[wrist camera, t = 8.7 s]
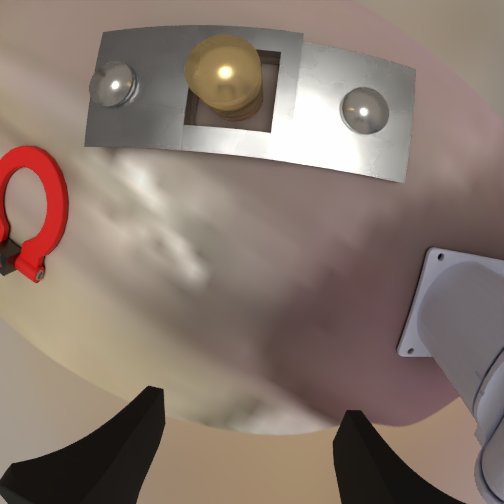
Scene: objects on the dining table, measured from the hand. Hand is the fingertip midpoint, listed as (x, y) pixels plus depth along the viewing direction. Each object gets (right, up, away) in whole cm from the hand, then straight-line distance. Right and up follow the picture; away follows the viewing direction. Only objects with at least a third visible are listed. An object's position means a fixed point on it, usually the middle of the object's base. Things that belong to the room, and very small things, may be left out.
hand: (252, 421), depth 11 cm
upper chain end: (-3, +16, +6) cm, 17 cm away
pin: (-1, +15, +5) cm, 16 cm away
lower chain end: (+2, +15, +5) cm, 16 cm away
